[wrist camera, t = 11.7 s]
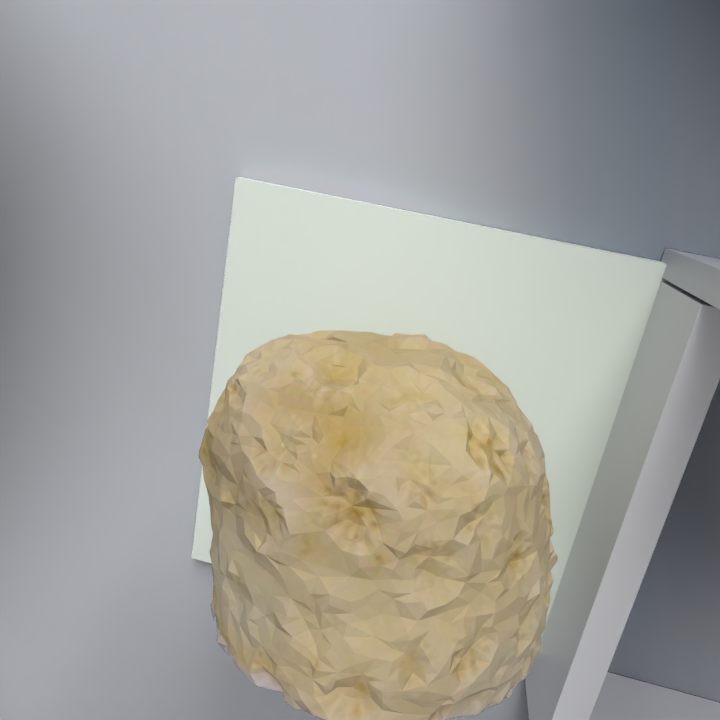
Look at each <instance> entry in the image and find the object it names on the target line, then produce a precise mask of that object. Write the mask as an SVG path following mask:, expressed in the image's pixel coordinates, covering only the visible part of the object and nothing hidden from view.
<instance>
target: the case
mask: <svg viewBox="0 0 720 720" xmlns="http://www.w3.org/2000/svg"><path fill="white" fill-rule="evenodd" d="M661 262H663V263H665V264H667V265H666V268H665V271H664V274H663V277H662V278H663V279H665V280H667V281H669V282H670V283H667V282H662V281H661V283H660V286H659V289H658V292H657V295H656V298H655V301H654V304H653V307H652V310H651V313H650V316H649V319H648V322H647V325H646V328H645V331H644V334H643V337H642V340H641V343H640V346H639V349H638V352H637V355H636V358H635V361H634V364H633V367H632V370H631V373H630V376H629V379H628V381H627V384H626V387H625V390H624V393H623V396H622V399H621V402H620V405H619V408H618V411H617V414H616V417H615V420H614V423H613V426H612V429H611V432H610V435H609V438H608V441H607V444H606V447H605V450H604V453H603V456H602V459H601V462H600V465H599V468H598V471H597V474H596V477H595V480H594V483H593V486H592V489H591V492H590V495H589V498H588V501H587V504H586V506H585V509H584V512H583V515H582V518H581V521H580V524H579V527H578V530H577V533H576V536H575V539H574V542H573V545H572V548H571V551H570V554H569V557H568V560H567V563H566V566H565V569H564V572H563V575H562V578H561V581H560V584H559V587H558V590H557V593H556V596H555V599H554V602H553V605H552V608H551V611H550V614H549V617H548V620H547V623H546V626H545V630H544V631H543V634H542V637H541V645H542V647H541V649H540V651H539V653H538V655H537V658H536V660H535V662H534V664H533V667H532V669H531V671H530V674H529V675H528V676H527V677H526V678H525V685H526V695H527V705H528V715H529V720H720V703H719V702H715V701H712V700H708V699H704V698H701V697H697V696H693V695H690V694H686V693H682V692H679V691H675V690H671V689H668V688H664V687H661V686H657V685H653V684H650V683H646V682H642V681H639V680H635V679H631V678H628V677H624V676H620V675H617V674H613V673H609V672H607V671H608V669H609V666H610V664H611V661H612V658H613V656H614V653H615V651H616V648H617V645H618V643H619V640H620V638H621V635H622V632H623V630H624V627H625V625H626V622H627V619H628V617H629V614H630V612H631V609H632V606H633V604H634V601H635V599H636V596H637V593H638V591H639V588H640V585H641V583H642V580H643V578H644V575H645V572H646V570H647V567H648V565H649V562H650V559H651V557H652V554H653V552H654V549H655V546H656V544H657V541H658V539H659V536H660V533H661V531H662V528H663V526H664V523H665V520H666V518H667V515H668V513H669V510H670V507H671V505H672V502H673V500H674V497H675V494H676V492H677V489H678V487H679V484H680V481H681V479H682V476H683V474H684V471H685V468H686V466H687V463H688V461H689V458H690V455H691V453H692V450H693V448H694V445H695V442H696V440H697V437H698V435H699V432H700V429H701V427H702V424H703V422H704V419H705V416H706V414H707V411H708V409H709V406H710V403H711V401H712V398H713V396H714V393H715V390H716V388H717V385H718V383H719V380H720V259H717V258H712V257H707V256H702V255H697V254H692V253H687V252H682V251H677V250H672V249H667V248H665V251H664V254H663V257H662V260H661Z"/></svg>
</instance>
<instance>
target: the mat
mask: <svg viewBox="0 0 720 720" xmlns="http://www.w3.org/2000/svg"><path fill="white" fill-rule="evenodd" d="M666 265H667V264H665V263H663V262H661V261H656V260H651V259H646V258H641V257H636V256H631V255H626V254H621V253H616V252H611V251H606V250H601V249H596V248H591V247H586V246H581V245H576V244H571V243H566V242H561V241H556V240H551V239H546V238H541V237H536V236H531V235H526V234H521V233H516V232H511V231H506V230H501V229H496V228H492V227H487V226H482V225H477V224H472V223H467V222H462V221H457V220H452V219H447V218H442V217H437V216H432V215H427V214H422V213H417V212H412V211H407V210H402V209H397V208H392V207H387V206H382V205H377V204H372V203H367V202H362V201H357V200H352V199H347V198H342V197H337V196H332V195H327V194H322V193H317V192H313V191H308V190H303V189H298V188H293V187H288V186H283V185H278V184H273V183H268V182H263V181H258V180H253V179H248V178H243V177H237V178H236V180H235V188H234V197H233V205H232V214H231V223H230V231H229V240H228V248H227V257H226V266H225V274H224V283H223V291H222V300H221V309H220V317H219V326H218V334H217V343H216V352H215V360H214V369H213V377H212V386H211V395H210V403H209V412H208V419H209V417H210V415H211V414H212V412H213V411H214V408H215V406H216V404H217V401H218V399H219V398H220V396H221V394H222V393H223V391H224V389H225V387H226V384H227V381H228V379H229V378H230V377H232V376H233V375H234V374H235V372H236V370H237V368H238V366H239V365H240V364H241V363H242V362H243V360H244V357H245V355H246V354H248V353H249V352H251V351H253V350H255V349H256V348H258V347H259V346H261V345H263V344H264V343H268V342H269V341H270V340H273V339H277V338H278V337H284V336H286V335H289V334H294V335H300V334H310V333H313V332H315V331H339V330H344V331H357V332H373V333H377V334H381V335H389V336H392V335H393V334H395V333H400V334H408V335H419V334H425V335H426V336H427V337H428V338H429V339H430V340H432V341H436V342H440V343H443V344H445V345H447V346H449V347H450V348H452V349H453V350H455V351H456V352H460V353H464V354H467V355H469V356H472V357H474V358H476V359H477V360H479V361H480V362H481V363H482V364H483V365H484V366H485V367H486V368H488V369H489V370H490V371H491V372H492V373H493V374H494V375H495V376H496V377H497V378H498V379H499V380H500V381H501V382H502V383H504V384H505V385H507V386H508V388H509V390H510V391H511V393H512V395H513V397H514V399H515V400H516V403H517V406H518V407H519V408H520V410H521V411H522V412H523V414H524V415H525V416H526V417H527V419H528V420H529V421H530V423H531V424H532V425H533V431H534V432H535V433H536V434H537V435H538V438H539V441H540V443H541V446H542V449H543V452H544V455H545V469H546V477H547V480H548V482H549V491H550V514H551V519H552V527H553V531H554V533H553V534H552V535H551V537H550V540H551V543H552V545H553V547H554V551H555V553H556V554H557V556H558V559H557V562H556V563H555V565H554V566H553V568H552V569H551V573H552V577H553V584H552V587H551V590H550V603H549V609H548V611H547V618H546V623H547V620H548V617H549V614H550V611H551V608H552V605H553V602H554V599H555V596H556V593H557V590H558V587H559V584H560V581H561V578H562V575H563V572H564V569H565V566H566V563H567V560H568V557H569V554H570V551H571V548H572V545H573V542H574V539H575V536H576V533H577V530H578V527H579V524H580V521H581V518H582V515H583V512H584V509H585V506H586V504H587V501H588V498H589V495H590V492H591V489H592V486H593V483H594V480H595V477H596V474H597V471H598V468H599V465H600V462H601V459H602V456H603V453H604V450H605V447H606V444H607V441H608V438H609V435H610V432H611V429H612V426H613V423H614V420H615V417H616V414H617V411H618V408H619V405H620V402H621V399H622V396H623V393H624V390H625V387H626V384H627V381H628V379H629V376H630V373H631V370H632V367H633V364H634V361H635V358H636V355H637V352H638V349H639V346H640V343H641V340H642V337H643V334H644V331H645V328H646V325H647V322H648V319H649V316H650V313H651V310H652V307H653V304H654V301H655V298H656V295H657V292H658V289H659V286H660V283H661V281H662V282H667V283H670V282H669V281H667V280H665V279H663V278H662V277H663V274H664V271H665V268H666ZM207 426H208V423H207ZM212 537H213V531H212V527H211V517H210V505H209V496H208V492H207V488H206V485H205V481H204V476H203V466H202V472H201V481H200V489H199V498H198V506H197V515H196V524H195V532H194V541H193V549H192V558H193V559H197V560H201V561H204V562H208V563H212V562H211V557H210V552H209V551H210V548H211V542H212ZM542 634H543V633H542ZM541 637H542V635H541Z"/></svg>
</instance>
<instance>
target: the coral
mask: <svg viewBox="0 0 720 720" xmlns="http://www.w3.org/2000/svg"><path fill="white" fill-rule="evenodd" d="M207 423H208V426H207V428H206V430H205V434H204V437H203V440H202V444H201V447H200V451H199V459H200V461H201V464H202V466H203V476H204V481H205V485H206V488H207V492H208V496H209V505H210V517H211V527H212V531H213V537H212V542H211V548H210V551H209V552H210V557H211V562H212V564H211V565H212V569H213V581H214V585H213V600H212V602H211V605H210V606H211V610H212V615H213V620H214V617H215V616H216V623H217V643H218V644H219V645H220V646H221V647H222V648H223V649H224V651H225V652H226V653H227V654H228V655H229V657H230V658H231V659H232V660H233V662H234V663H235V664H236V665H237V667H238V668H239V669H240V670H241V671H242V673H243V674H245V675H246V676H247V677H248V678H249V679H250V680H251V681H252V682H253V683H254V684H255V685H256V686H259V687H263V688H268V689H272V690H276V691H280V692H283V694H284V702H285V703H287V704H288V705H289V706H291V707H292V708H293V709H297V710H304V711H306V712H308V713H310V714H312V715H314V716H316V717H318V718H320V719H323V720H448V719H451V718H455V717H458V716H463V715H478V714H480V713H481V712H482V711H483V710H485V709H486V708H487V707H490V706H494V705H497V704H500V703H501V702H502V700H503V699H504V698H505V697H508V698H509V699H510V696H511V694H512V692H513V690H514V688H515V686H516V685H517V684H518V683H519V682H521V681H522V680H524V679H525V678H526V677H527V676H528V675H529V674H530V671H531V669H532V667H533V664H534V662H535V660H536V658H537V655H538V653H539V651H540V649H541V647H542V645H541V635H542V633H543V631H544V630H545V626H546V618H547V611H548V609H549V603H550V590H551V587H552V584H553V577H552V573H551V569H552V568H553V566H554V565H555V563H556V562H557V559H558V556H557V554H556V553H555V551H554V547H553V545H552V543H551V540H550V537H551V535H552V534H553V533H554V531H553V527H552V519H551V514H550V491H549V482H548V480H547V477H546V469H545V455H544V452H543V449H542V446H541V443H540V441H539V438H538V435H537V434H536V433H535V432H534V431H533V425H532V424H531V423H530V421H529V420H528V419H527V417H526V416H525V415H524V414H523V412H522V411H521V410H520V408H519V407H518V406H517V403H516V400H515V399H514V397H513V395H512V393H511V391H510V390H509V388H508V386H507V385H505V384H504V383H502V382H501V381H500V380H499V379H498V378H497V377H496V376H495V375H494V374H493V373H492V372H491V371H490V370H489V369H488V368H486V367H485V366H484V365H483V364H482V363H481V362H480V361H479V360H477V359H476V358H474V357H472V356H469V355H467V354H464V353H460V352H456V351H455V350H453V349H452V348H450V347H449V346H447V345H445V344H443V343H440V342H436V341H432V340H430V339H429V338H428V337H427V336H426V335H425V334H419V335H408V334H400V333H395V334H393V335H392V336H389V335H381V334H377V333H373V332H357V331H344V330H339V331H315V332H313V333H310V334H300V335H294V334H289V335H286V336H284V337H278V338H277V339H273V340H270V341H269V342H268V343H264V344H263V345H261V346H259V347H258V348H256V349H255V350H253V351H251V352H249V353H248V354H246V355H245V357H244V360H243V362H242V363H241V364H240V365H239V366H238V368H237V370H236V372H235V374H234V375H233V376H232V377H230V378H229V379H228V381H227V384H226V387H225V389H224V391H223V393H222V394H221V396H220V398H219V399H218V401H217V404H216V406H215V408H214V411H213V412H212V414H211V415H210V417H209V419H208V420H207Z"/></svg>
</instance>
